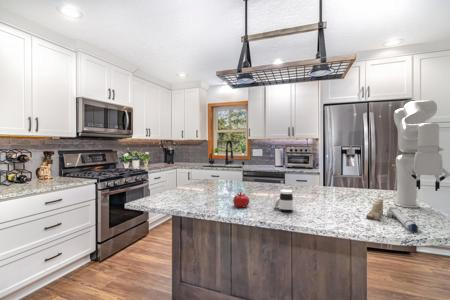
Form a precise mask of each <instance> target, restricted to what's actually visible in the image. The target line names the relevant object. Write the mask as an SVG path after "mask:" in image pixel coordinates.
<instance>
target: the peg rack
mask: <svg viewBox="0 0 450 300" xmlns="http://www.w3.org/2000/svg"><path fill="white" fill-rule="evenodd" d="M383 215H384V199H382V198H377V199H376V200H374V202H372V209H370V211H369V212H368V213H367V215H366V216H365V218H366V220H372V221H380V218H382V216H383Z"/></svg>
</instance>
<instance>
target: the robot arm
mask: <svg viewBox="0 0 450 300" xmlns="http://www.w3.org/2000/svg"><path fill="white" fill-rule="evenodd" d="M437 111H438V105H437V103H436V101H435V100H433V99H431V100H430V99H424V100H413V101H408V102H407V103H405V104H404V105H403V107H402V108H398V109H396V110H394V112H393V120H394V124H395V126H396V129H397V143H398V144H397V145H398V150H399V151H400V152H402V153H405V154H398V155H397V156H396V157H395V166H396V167H395V168H396V177H397V178H396V179H397V181H396V185H397V186H396V201H393V205H394V206H397V207H402V208H409V209H417V208H420V204H419V203H417V189H418V190H421V179H420V178H421V176H434V177H435V179H436V180H435V182H434V185H435V186H434V187H435V188H434V189H435V191H436V192H438V190H440V186H441V185H440V184H441V183H440V182H442V181H444V180H445V179H446V178H448V177H450V173H449V172H448V170H446V169H445V168H444V164H443V156H442V153H440V152H443V151H444V147H441V146H440V124H439V123H437V122H427V121H429V120H431V119H432V117H434V116H435V115H436V113H437ZM406 153H407V154H406ZM408 153H415V154H408Z"/></svg>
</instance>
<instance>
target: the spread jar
mask: <svg viewBox="0 0 450 300" xmlns="http://www.w3.org/2000/svg"><path fill="white" fill-rule="evenodd" d="M279 193H280V194H279V197H277V198H276V199H274V202H273V208H274V209H278V208H279V211H281V212H283V213H291V212H293V211H294V196H293V190H292V189H280V191H279Z"/></svg>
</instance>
